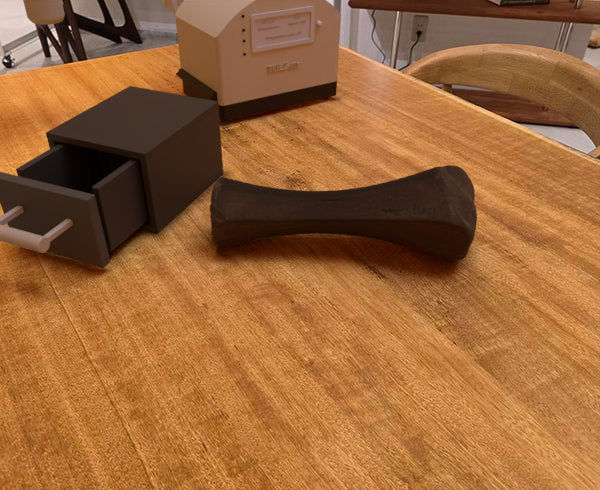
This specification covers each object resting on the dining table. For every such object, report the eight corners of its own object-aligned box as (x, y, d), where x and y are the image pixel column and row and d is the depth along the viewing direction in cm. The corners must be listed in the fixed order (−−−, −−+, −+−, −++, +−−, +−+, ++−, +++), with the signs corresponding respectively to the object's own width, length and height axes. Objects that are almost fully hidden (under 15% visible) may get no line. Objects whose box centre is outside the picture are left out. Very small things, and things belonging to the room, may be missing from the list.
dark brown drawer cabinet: (157, 233, 66) (144, 153, 60) (66, 210, 69) (45, 132, 63) (223, 173, 77) (218, 101, 71) (141, 156, 81) (130, 85, 75)
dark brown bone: (468, 253, 67) (227, 269, 70) (466, 159, 65) (218, 178, 68) (492, 266, 57) (206, 284, 59) (490, 154, 55) (195, 177, 57)
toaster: (217, 129, 88) (208, 1, 77) (152, 79, 104) (137, -33, 93) (343, 99, 98) (350, -17, 87) (266, 58, 114) (264, -45, 103)
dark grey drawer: (71, 297, 56) (50, 226, 51) (-23, 268, 59) (-51, 199, 54) (179, 201, 70) (171, 139, 65) (99, 182, 73) (85, 122, 68)
